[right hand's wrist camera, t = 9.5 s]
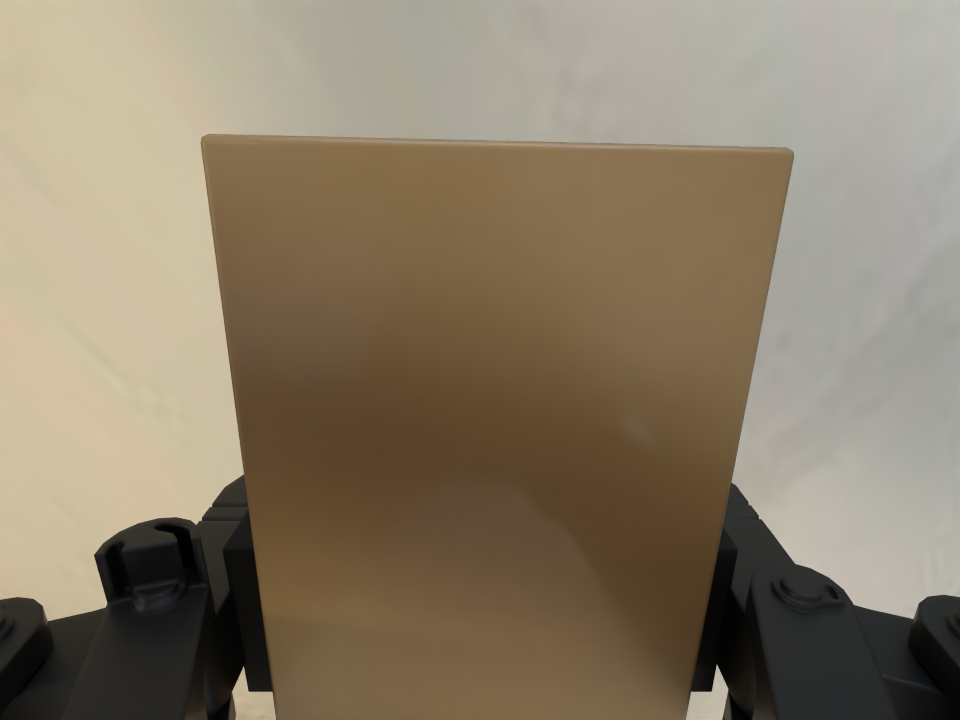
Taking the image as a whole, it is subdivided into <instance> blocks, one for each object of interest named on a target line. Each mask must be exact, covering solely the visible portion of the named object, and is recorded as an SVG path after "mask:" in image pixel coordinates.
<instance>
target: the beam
mask: <svg viewBox="0 0 960 720" xmlns="http://www.w3.org/2000/svg"><path fill="white" fill-rule="evenodd" d="M201 148H202V156H203V164H204V171H205V179H206V187H207V194H208V202H209V209H210V217H211V225H212V232H213V240H214V248H215V255H216V263H217V270H218V278H219V286H220V293H221V301H222V309H223V316H224V324H225V332H226V339H227V347H228V354H229V362H230V370H231V377H232V385H233V393H234V400H235V408H236V416H237V423H238V431H239V438H240V446H241V454H242V461H243V469H244V477H245V484H246V492H247V500H248V507H249V515H250V522H251V530H252V538H253V545H254V553H255V561H256V568H257V576H258V584H259V591H260V599H261V606H262V614H263V622H264V629H265V637H266V645H267V652H268V660H269V667H270V675H271V683H272V690H273V698H274V706H275V713H276V720H686V715H687V710H688V705H689V699H690V694H691V689H692V684H693V679H694V673H695V668H696V663H697V658H698V653H699V647H700V642H701V637H702V632H703V627H704V622H705V616H706V611H707V606H708V601H709V596H710V590H711V585H712V580H713V575H714V570H715V564H716V559H717V554H718V549H719V544H720V538H721V533H722V528H723V523H724V518H725V512H726V507H727V502H728V497H729V492H730V486H731V481H732V476H733V471H734V466H735V460H736V455H737V450H738V445H739V440H740V434H741V429H742V424H743V419H744V414H745V408H746V403H747V398H748V393H749V388H750V382H751V377H752V372H753V367H754V362H755V356H756V351H757V346H758V341H759V336H760V330H761V325H762V320H763V315H764V310H765V304H766V299H767V294H768V289H769V284H770V278H771V273H772V268H773V263H774V258H775V252H776V247H777V242H778V237H779V232H780V227H781V221H782V216H783V211H784V206H785V201H786V195H787V190H788V185H789V180H790V175H791V169H792V164H793V159H794V154H793V151H792V150H790V149H788V148H781V147H738V146H696V145H654V144H611V143H569V142H526V141H484V140H441V139H399V138H357V137H314V136H272V135H229V134H207V135H205V136H203V137H202V139H201Z"/></svg>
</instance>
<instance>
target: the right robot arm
mask: <svg viewBox="0 0 960 720" xmlns="http://www.w3.org/2000/svg"><path fill="white" fill-rule="evenodd" d="M94 557H95V560H96V564H97V567H98V571H99V574H100V578H101V582H102V585H103V589H104V592H105V596H106V599H107V603H108V604H107V606H106V608H103V609H99V610H96V611H92V612H88V613H83V614H79V615H74V616H70V617H65V618H61V619H56V620H52V621H47V618H46V615H45V612H44V609H43V606H42V605H41V604H39V603H38V602H37V601H35V600H34V599H28V598H20V597H16V598H9V599H3V600H0V720H235V718H236V712H235V705H234V699H233V694H232V691H233V688H234V686H235V684H236V682H237V680H238V677H239V675H240V673H241V671H242V669H243V666H244V669H245V674H246V679H247V685H248V690H249V692H273V690H272V683H271V675H270V667H269V660H268V652H267V645H266V637H265V629H264V622H263V614H262V606H261V599H260V591H259V584H258V576H257V568H256V561H255V553H254V545H253V538H252V530H251V522H250V515H249V507H248V500H247V492H246V484H245V477H244V475H242V476H241V477H239V478H238V479H236V480H235V481H234V482H232V483H231V484H229V485H228V486H226V487H225V488H224V489H223V490H222V492H221V493H220V494H219V496H218V497H217V498H216V500H215V501H214V502H213V504H212V507H210V508H209V509H208V510H207V512H206V513H205V514H204V516H203V517H202V521H199V522H198V524H197V525H195V524H194V523H193V522H192V521H191V520H186V519H181V518H177V517H175V518H158V519H154V520H150V521H146V522H142V523H138V524H136V525H134V526H132V527H129V528H127V529H125V530H123V531H120V532H119V533H117V534H116V535H114V536H113V537H111V538H110V539H109V540H107V541H106V542H104V543H103V545H102V546H101V547H100V548H99V550H98V551H97V552H96V553H95V555H94ZM716 665H718V667H719V669H720V672H721V674H722V676H723V678H724V680H725V682H726V685H727V687H728V694H727V699H726V704H725V709H724V714H723V719H722V720H960V597H954V596H948V595H938V596H930V597H927V598H926V599H924V600H923V601H922V602H920V603H919V605H918V608H917V611H916V614H915V617H914V619H910V618H906V617H901V616H897V615H892V614H888V613H883V612H879V611H874V610H870V609H866V608H862V607H859V606H856V605H853V603H852V601H851V600H850V598H849V597H848V595H847V594H846V592H845V591H844V590H843V589H842V588H841V587H840V586H839V585H837V584H836V583H835V582H834V581H832V580H831V579H830V578H828V577H826V576H825V575H823V574H821V573H819V572H817V571H815V570H813V569H811V568H807V567H804V566H800V565H797V564H795V563H794V562H793V560H792V559H791V558H790V557H789V555H788V554H787V553H786V551H785V550H784V549H783V547H782V546H781V545H780V543H779V542H778V541H777V539H776V538H775V537H774V535H773V534H772V533H771V531H770V530H769V529H768V527H767V526H766V525H765V523H764V522H763V521H762V519H759V515H758V514H757V513H756V512H755V510H754V509H753V508H752V506H751V505H749V504H748V501H747V500H746V498H745V497H744V496H743V494H742V493H741V492H740V490H739V489H738V488H737V486H736V485H734V484H733V483H731V486H730V492H729V497H728V502H727V507H726V512H725V518H724V523H723V528H722V533H721V538H720V544H719V549H718V554H717V559H716V564H715V570H714V575H713V580H712V585H711V590H710V596H709V601H708V606H707V611H706V616H705V622H704V627H703V632H702V637H701V642H700V647H699V653H698V658H697V663H696V668H695V673H694V679H693V684H692V689H691V692H712V687H713V681H714V676H715V671H716Z"/></svg>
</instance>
